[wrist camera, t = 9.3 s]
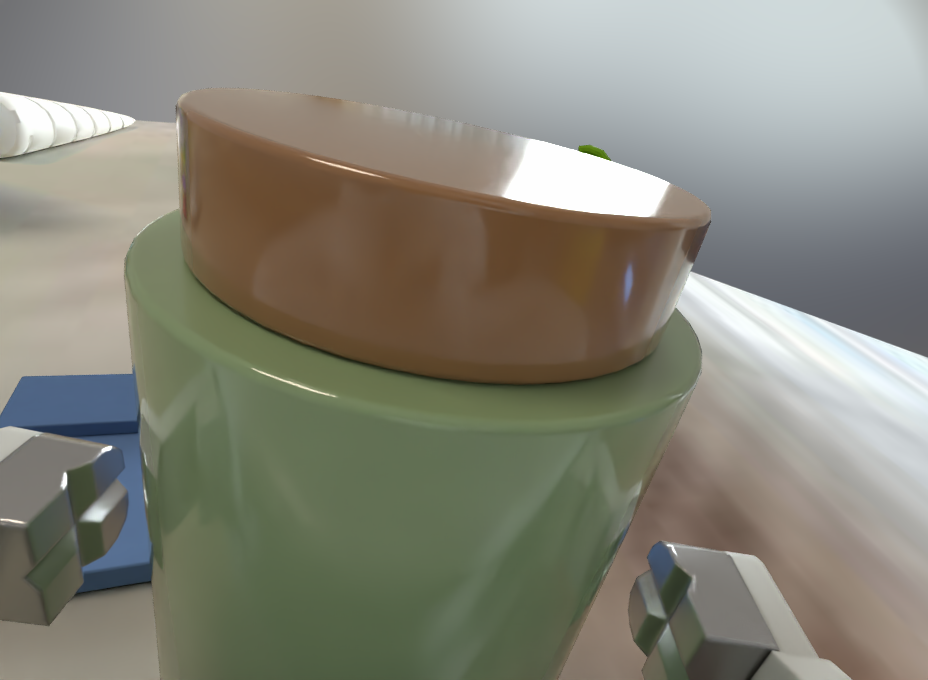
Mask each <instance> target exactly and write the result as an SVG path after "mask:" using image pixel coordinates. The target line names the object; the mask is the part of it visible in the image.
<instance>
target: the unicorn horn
mask: <svg viewBox="0 0 928 680" xmlns="http://www.w3.org/2000/svg"><path fill="white" fill-rule="evenodd" d="M133 121H134V122H135V120H134V119H133V118H131V117H128V116H124V115H121V114H117V113H113V112H108V111H103V110H98V109H93V108H88V107H83V106H78V105H73V104H67V103H61V102H56V101H51V100H44V99H39V98H33V97H27V96H22V95H16V94H10V93H4V92H0V158H6V157H12V156H17V155H21V154H24V153H29V152H33V151H37V150H41V149H45V148H48V147H54V146H58V145H62V144H66V143H70V142H74V141H79V140H83V139H87V138H90V137H94V136H98V135H102V134H105V133H108V132H112V131H115V130H118V129H121V128H124V127H127V126H129V125H131V124H133Z"/></svg>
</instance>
